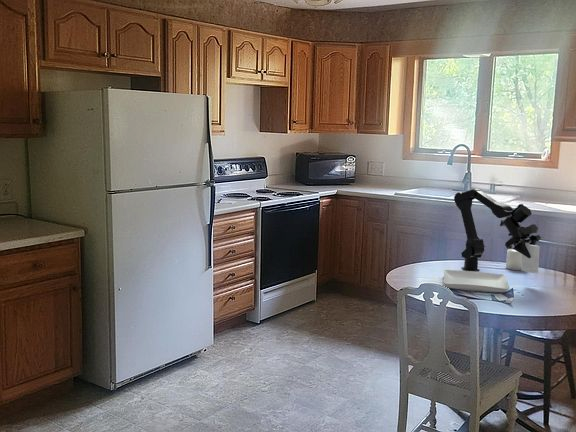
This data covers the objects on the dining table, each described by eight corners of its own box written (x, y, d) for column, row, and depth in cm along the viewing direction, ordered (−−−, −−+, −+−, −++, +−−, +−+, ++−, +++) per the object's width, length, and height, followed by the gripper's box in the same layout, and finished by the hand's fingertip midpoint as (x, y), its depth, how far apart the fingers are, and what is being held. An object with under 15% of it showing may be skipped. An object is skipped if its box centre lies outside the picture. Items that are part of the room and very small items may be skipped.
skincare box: (538, 272, 264) (541, 245, 263) (532, 273, 262) (535, 246, 260) (526, 269, 269) (528, 243, 268) (520, 270, 267) (522, 244, 265)
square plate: (504, 281, 274) (504, 273, 274) (509, 297, 248) (510, 288, 248) (443, 276, 281) (444, 268, 281) (442, 290, 255) (443, 281, 255)
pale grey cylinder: (502, 266, 303) (503, 249, 302) (515, 266, 306) (516, 248, 305) (513, 270, 296) (514, 252, 295) (526, 269, 299) (527, 252, 297)
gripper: (513, 219, 261) (532, 248, 253) (539, 217, 270) (559, 245, 263) (496, 233, 268) (515, 262, 261) (523, 231, 278) (541, 259, 271)
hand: (533, 257), depth 264 cm, fingers closed on skincare box, 4 cm apart
